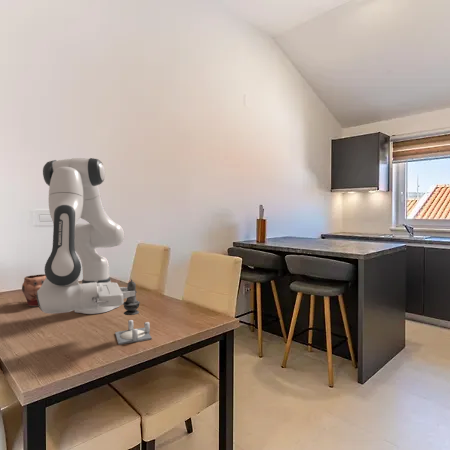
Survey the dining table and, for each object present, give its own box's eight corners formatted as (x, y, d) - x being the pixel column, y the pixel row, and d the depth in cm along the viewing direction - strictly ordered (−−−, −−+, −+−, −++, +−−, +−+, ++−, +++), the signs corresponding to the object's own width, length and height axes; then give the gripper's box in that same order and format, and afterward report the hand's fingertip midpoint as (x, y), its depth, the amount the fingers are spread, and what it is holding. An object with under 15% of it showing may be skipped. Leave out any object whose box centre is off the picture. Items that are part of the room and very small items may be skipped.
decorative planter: (18, 302, 167) (16, 274, 167) (45, 297, 176) (44, 270, 175) (28, 310, 153) (26, 280, 152) (57, 305, 161) (56, 276, 160)
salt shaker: (141, 310, 122) (141, 277, 122) (137, 315, 116) (137, 280, 116) (125, 310, 122) (125, 277, 122) (120, 315, 116) (120, 280, 116)
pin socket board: (115, 333, 123) (114, 322, 123) (146, 328, 128) (146, 317, 128) (118, 345, 112) (118, 333, 112) (153, 339, 117) (152, 327, 117)
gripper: (92, 293, 104) (138, 288, 110) (90, 280, 123) (129, 277, 129) (93, 313, 105) (139, 308, 110) (91, 298, 123) (130, 293, 129)
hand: (134, 291), depth 119 cm, fingers closed on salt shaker, 4 cm apart
